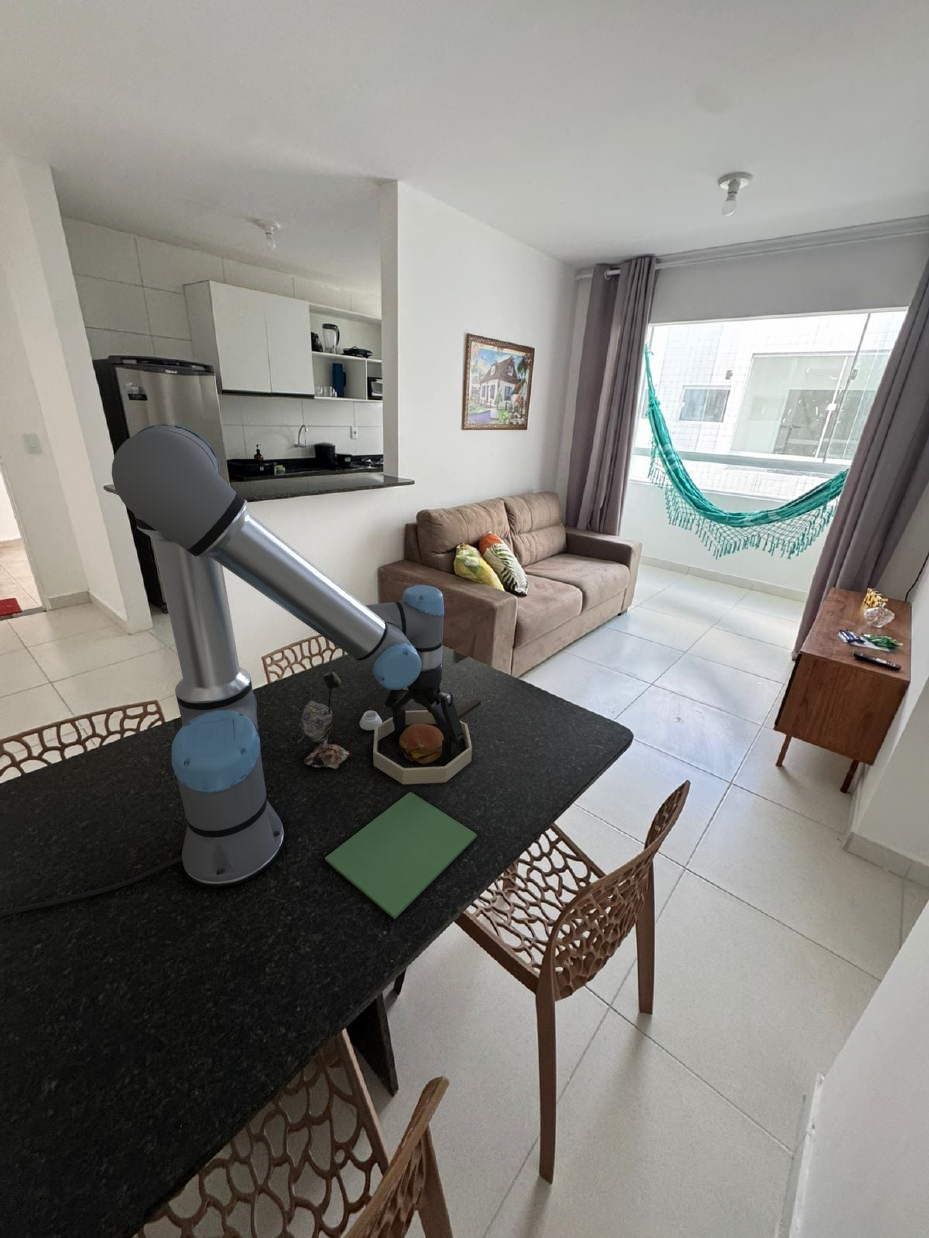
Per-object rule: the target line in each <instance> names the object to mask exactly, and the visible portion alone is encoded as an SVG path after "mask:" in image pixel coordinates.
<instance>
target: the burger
mask: <svg viewBox="0 0 929 1238" xmlns="http://www.w3.org/2000/svg"><path fill="white" fill-rule="evenodd" d="M443 739H444V736H443V734H442V732H441V730H440V729H439V728H437V727H436V726H433V725H432V724H415V725H408V727H406V729H405V730H404V732H403V733H402V734H401V736H400V739H398V744H399V749H400V753H401V754H403V756H404V757H405V759H407V760H409V762H410V761H411V762H414V761H415V762H417V763H419V764H421V765H425V764H430V763H433V762H435V761H437V760H438V759H439V758H440V757H442V740H443Z"/></svg>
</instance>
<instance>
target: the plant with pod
mask: <svg viewBox="0 0 929 1238" xmlns="http://www.w3.org/2000/svg"><path fill="white" fill-rule="evenodd" d="M322 679H323V681H324V684H325V686H326V687H327V688H328V706H327V705H326V704H323V703H320V702H317V701H314V700H309V701H308V702H307V704H305V707H304V709H303V712H302V716H301V719H300V722H299V730H300V731H301V734H302V736H301V738H300V739H299V740H297V744H301V743H302V742H303V741H304V740H305V739H306V738H309V740H311V741H312V742H313V743H318V744H317V745H315V747H314V748H313V750H312V751H311V752H310V754H308V756H307V757H306V758H304V760H303V763H304V765H308V766H311V767H314V768H322V767H324V768H328V767H329V768H331V769H334V770H336V769H338V768H340V766H342V764H343V763H345V760H346V759H348V758H349V757H351V756H352V755H353V753H352V751H351V750H348V749H347V750H346V749H345V748H343V747H342V746H340V745H337V744H334V743H333V744H332V743H331V744H330V734H331V732H332V729H333V719H334V714H333V710H332V709H331V699H332V692H333V691H332V690H333V689H334V688H336V689H339V690H340V691H341V692H342V691H344V689H343V688H342V686H341V685H342V680H341V678H339V676H338V675H337V673H335V672H334V671H329V672H326V673H325V674H323V675H322ZM311 699H313V697H312V696H311Z"/></svg>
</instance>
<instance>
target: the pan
mask: <svg viewBox="0 0 929 1238" xmlns="http://www.w3.org/2000/svg"><path fill="white" fill-rule="evenodd" d="M481 704H482V701H481V700H480V699H478V698H474V699H472V701H469V702H468V703H467V704H465V705H464V706H462V707H461V708H460V709H458V710H456V712H457V715H458V718H459V720H460V723H461V726H462V729H463V732H464V735H465V737H464V738H463V740H464V745H465V750H464V751H462V752H461V753H460V754H459V755H457V756H456V757H455V758H453V760H452V761H451V762H450V763H448V764H447V765H446V766H444V767H442V766H426V767H425V766H424V767H423V766H422V767H403V766H401V765H399V764H397V763H396V762H395V761H393V760H391V759H390V758H388V757H386V756H385V755H383V754H382V753H380V752H379V751H378V747H379V741H380V740H382V739H383V738H385V737H387V736H389V734H391V733H393V732H394V723H393V716H391V717H390V718H388V719H387V720H384V721H382V723H381V724H380V725H378V726H376V727H375V730H374V733H373V734H374V735H373V748H372V749H373V750H372V756H373V757H372V759H373V766H374V767H375V768H377V769H379V770H380V771H381V772H383V773H384V774H386V775H388V776H389V777H391V778H393V779H394V780H396V781H397V782H399V783H400V784H402V785H419V784H438V783H439V784H441V783H447V782H448V781H449V780H451V778H453V777H454V776H455V775H456V774H458V773H459V772H460V771H461V770H463V769H464V768H465V767H466V766H468V765H469V764H470V763H471V762H472V755H473V754H472V753H473V746H472V741H471V737H470V731H469V727H468V723H465V722H464V721H461V719H463V718H464V717H465V716H466V715H468V714H469V713H471V712H472V711H473V710H475V709H476V708H478V707H480V706H481ZM405 721H406V726H411V725H415V724H426V725H437V723H436V721H435V719H434V717H433V715H432V714H431V713H429V712H428V710H427V709H422V710H420V709H419V710H418V709H417V710H405Z"/></svg>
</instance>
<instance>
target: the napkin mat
mask: <svg viewBox="0 0 929 1238" xmlns="http://www.w3.org/2000/svg"><path fill="white" fill-rule="evenodd" d="M477 837H478V835H477V833H476V832H474V831H473V830H471V829H470V828H468V827H466V826H465V825H463V824H462V823H460V822H458V821H457V820H455V819H454V818H452V817H451V816H449V815H448V814H446V813H445V812H443V811H442V810H440V809H438V808H437V807H435V806H434V805H432V804H431V803H429V802H428V801H426V800H424V799H423V798H422V797H420V796H418V795H417V794H415V793H414V792H412V791H409V792H408V793H406V794H405V795H404V796H403V797H401V798H400V799H399V800H398V801H396V802H394V803H393V804H392V805H391V806H389V807H388V808H387V809H386V810H384V811H383V812H381V813H380V814H378V816H377V817H375V818H374V819H373V820H371V821H370V822H369V823H368V824H366V825H365V826H364V827H362V828H361V829H360V830H359V831H357V832H356V833H355V834H353V835H352V836H351V837H350V838H348V839H346V840H345V841H344V842H343V843H342V844H340V845H339V846H338V847H337V848H336V849H334V850H333V851H331V852H330V853H329V854H327V856H325V857H324V861H325V862H326V863H328V864H329V865H330V866H331V867H332V868H333V869H335V870H336V871H337V872H338V873H339V874H340V875H342V876H343V877H344V878H345V879H346V880H347V881H349V882H350V883H351V884H352V885H354V887H356V888H357V889H358V890H359V891H361V892H362V894H364V895H365V897H367V898H369V899H370V900H371V901H372V902H374V904H376V906H378V907H379V908H380V909H381V910H383V911H384V912H385V913H386V914H387V915H389V916H390V917H391V918H392V919H394V920H396V919H397V918H398V917H399V916H400V915H401V914H402V913H403V912H404V911H405V910H406V909H407V908H408V907H409V906H410V905H411V904H412V903H413V902H414V901H415V900H416V899H417V898H418V897H419V896H420V895H421V894H422V893H423V892H424V891H425V890H426V889H427V888H428V887H429V885H431V884H432V883H433V882H434V880H435V879H436V878H438V876H440V875H441V873H443V872H444V871H445V870H446V868H448V867H449V866H450V864H452V863H453V862H454V860H456V858H457V857H458V856H460V855H461V854H462V853H463V852H464V851H465V849H466V848H468V846H469V845H470V844H472V842H473V841H475V839H477Z"/></svg>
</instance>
